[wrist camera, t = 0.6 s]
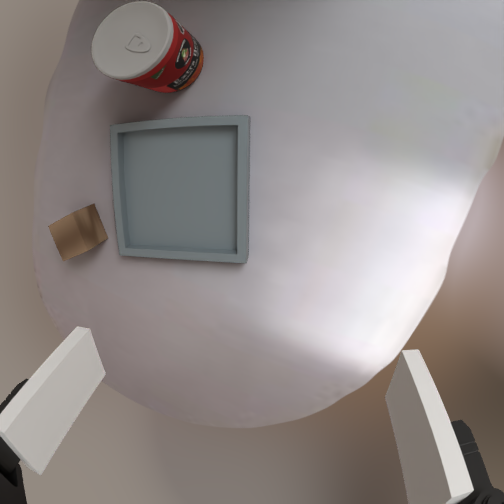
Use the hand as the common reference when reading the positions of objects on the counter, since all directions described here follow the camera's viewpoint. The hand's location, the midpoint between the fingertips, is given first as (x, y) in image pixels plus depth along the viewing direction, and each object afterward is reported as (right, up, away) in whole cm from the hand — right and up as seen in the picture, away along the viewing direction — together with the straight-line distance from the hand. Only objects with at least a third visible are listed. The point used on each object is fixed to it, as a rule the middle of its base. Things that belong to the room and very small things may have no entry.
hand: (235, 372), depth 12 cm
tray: (-8, +12, +23) cm, 27 cm away
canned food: (-8, +26, +18) cm, 33 cm away
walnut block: (-22, +8, +26) cm, 35 cm away
